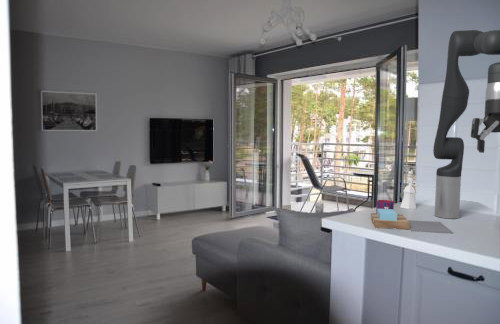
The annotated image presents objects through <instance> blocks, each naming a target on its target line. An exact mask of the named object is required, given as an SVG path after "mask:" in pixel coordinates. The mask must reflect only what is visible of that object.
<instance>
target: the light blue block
mask: <svg viewBox="0 0 500 324" xmlns="http://www.w3.org/2000/svg"><path fill="white" fill-rule="evenodd" d="M397 215H398V213H397V212H396V211H395V209H394V210H393V209H377V216H378V217H379V219H380V220H392V221H397Z"/></svg>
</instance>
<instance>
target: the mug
mask: <svg viewBox="0 0 500 324" xmlns="http://www.w3.org/2000/svg"><path fill="white" fill-rule="evenodd" d="M394 205H395V202H394V200H390V199H377V200H376V212H375V213H376V214H377V209H393V210H394V211H395V209H394V207H395V206H394Z"/></svg>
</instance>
